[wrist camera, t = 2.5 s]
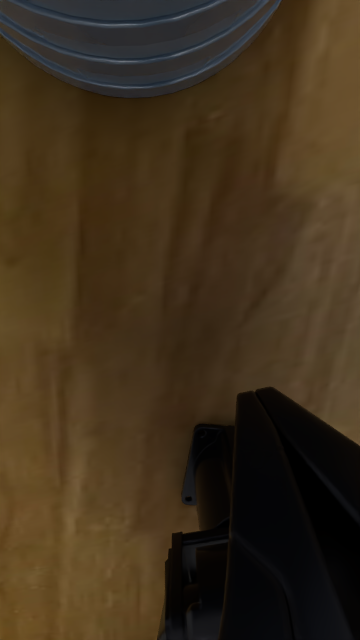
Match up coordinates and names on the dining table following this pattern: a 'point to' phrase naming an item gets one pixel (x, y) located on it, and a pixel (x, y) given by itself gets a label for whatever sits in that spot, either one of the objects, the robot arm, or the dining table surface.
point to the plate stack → (133, 40)
